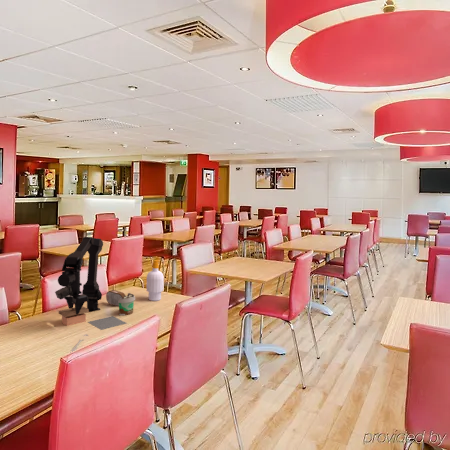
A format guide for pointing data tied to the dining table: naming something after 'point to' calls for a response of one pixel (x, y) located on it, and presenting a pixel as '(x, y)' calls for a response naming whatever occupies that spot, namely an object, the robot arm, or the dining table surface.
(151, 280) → the soap bottle
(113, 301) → the tin
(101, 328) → the mat
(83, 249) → the robot arm
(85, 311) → the lid
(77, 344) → the spoon
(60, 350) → the dining table surface
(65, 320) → the dish
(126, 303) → the food container
